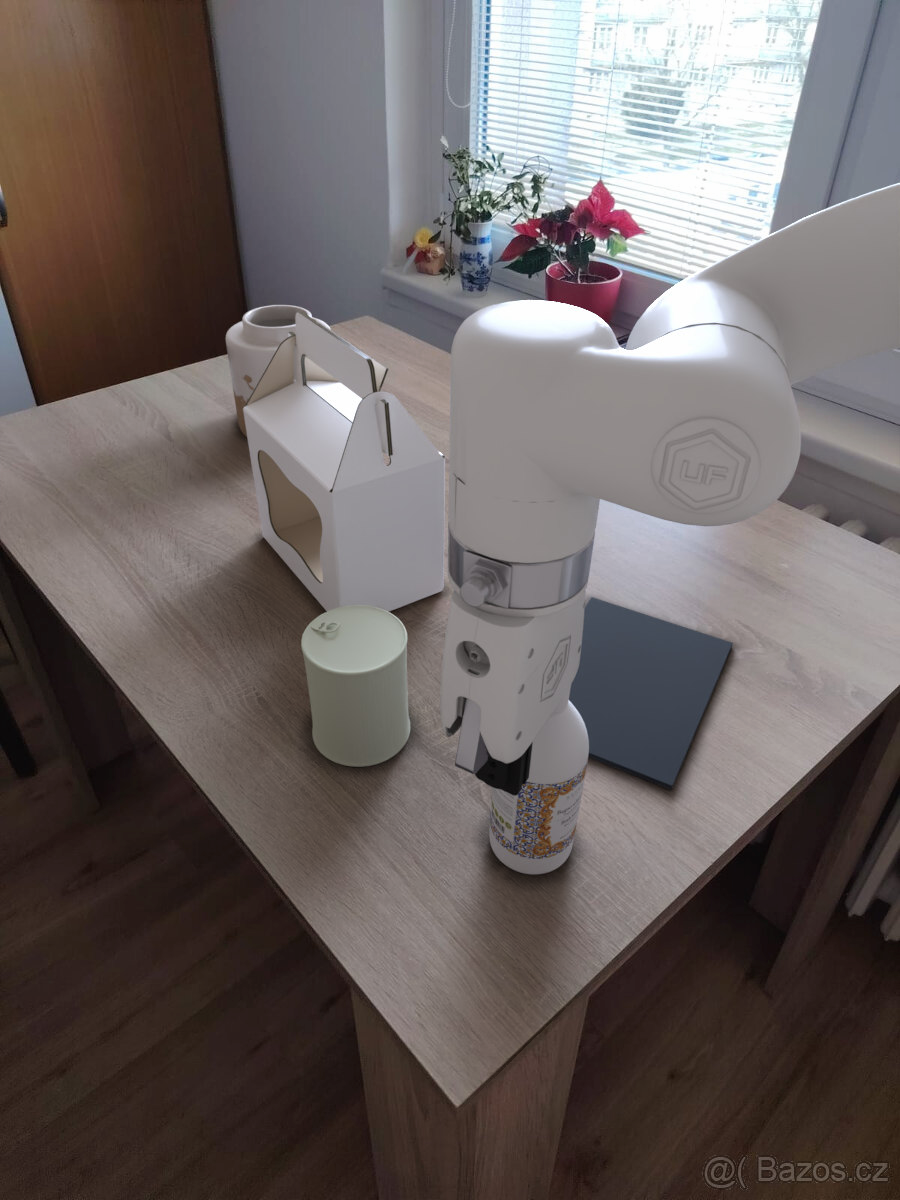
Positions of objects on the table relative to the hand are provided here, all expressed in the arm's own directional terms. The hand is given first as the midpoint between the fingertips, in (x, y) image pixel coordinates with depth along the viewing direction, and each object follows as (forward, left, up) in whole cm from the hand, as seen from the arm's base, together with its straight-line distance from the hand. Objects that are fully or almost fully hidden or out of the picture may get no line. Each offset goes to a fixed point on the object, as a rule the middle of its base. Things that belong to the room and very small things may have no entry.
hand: (501, 778), depth 55 cm
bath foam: (+5, -5, -15) cm, 17 cm away
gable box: (+48, +2, -15) cm, 50 cm away
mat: (+20, -21, -15) cm, 32 cm away
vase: (+87, +4, -15) cm, 88 cm away
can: (+21, +6, -15) cm, 26 cm away
